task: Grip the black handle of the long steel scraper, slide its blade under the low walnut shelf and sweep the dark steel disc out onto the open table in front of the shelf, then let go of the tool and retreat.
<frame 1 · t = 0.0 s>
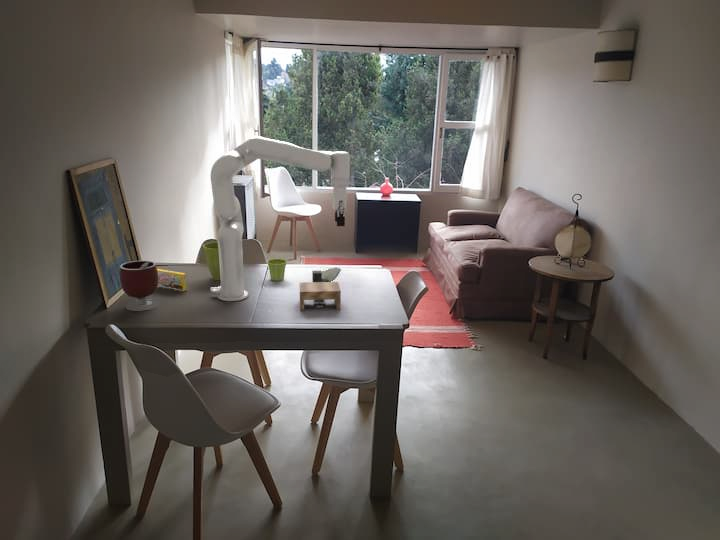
hand: (339, 223, 225), 31 cm above the table, tool pointing down, fingers open, 9 cm apart
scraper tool: (317, 286, 244), on the table
mate gourd: (143, 307, 215), on the table
stone slab: (327, 276, 262), on the table
flower pot: (221, 278, 253), on the table
candy box: (170, 289, 236), on the table
plant pot: (277, 279, 253), on the table
walnut shelf: (319, 305, 220), on the table
steel disc: (319, 306, 219), on the table
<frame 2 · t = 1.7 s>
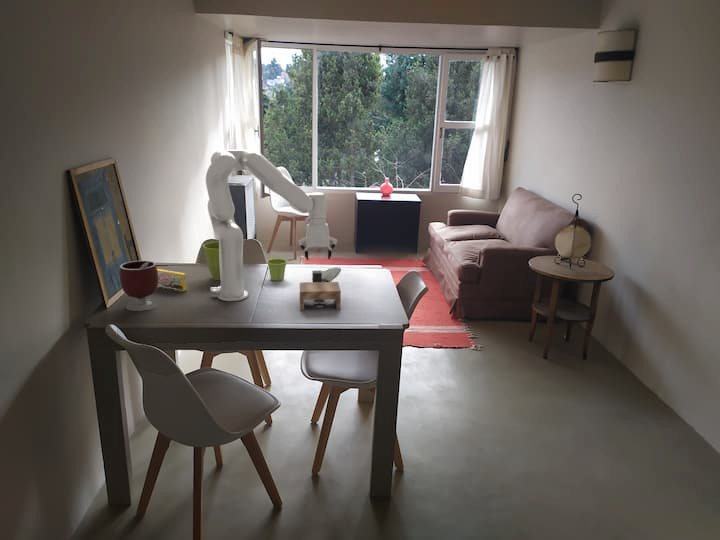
hand: (318, 258, 240), 13 cm above the table, tool pointing down, fingers open, 9 cm apart
nothing on the table moved.
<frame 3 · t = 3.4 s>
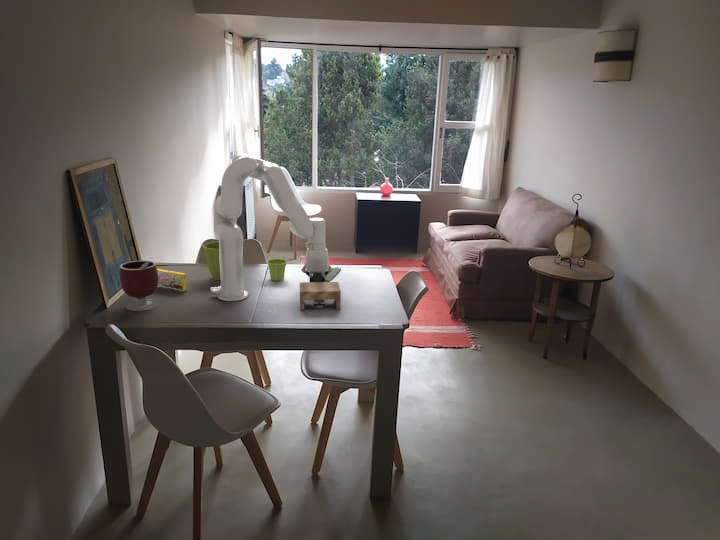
hand: (317, 284, 243), 1 cm above the table, tool pointing down, fingers closed on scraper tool, 4 cm apart
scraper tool: (317, 286, 244), on the table, touching gripper
everything else where it was.
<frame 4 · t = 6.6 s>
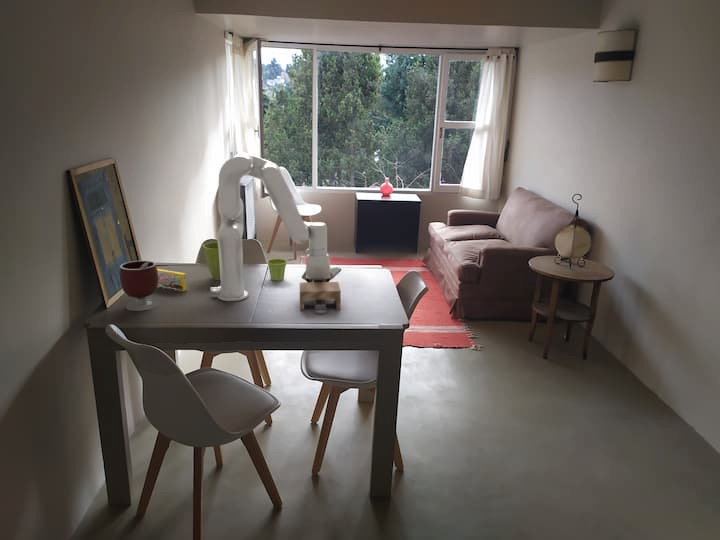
hand: (317, 292, 233), 1 cm above the table, tool pointing down, fingers closed on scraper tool, 4 cm apart
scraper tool: (317, 294, 233), on the table, touching gripper, steel disc
steel disc: (320, 312, 213), on the table, touching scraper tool
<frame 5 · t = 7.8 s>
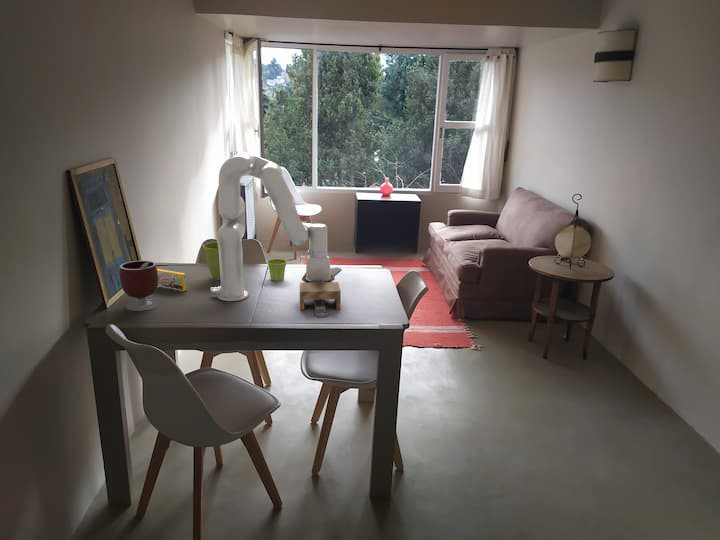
hand: (318, 294, 230), 1 cm above the table, tool pointing down, fingers closed on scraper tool, 4 cm apart
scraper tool: (318, 296, 230), on the table, touching gripper
steel disc: (321, 315, 210), on the table
when the fingers open (1 cm above the table, at t = 9.3 s): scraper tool stays where it is, on the table.
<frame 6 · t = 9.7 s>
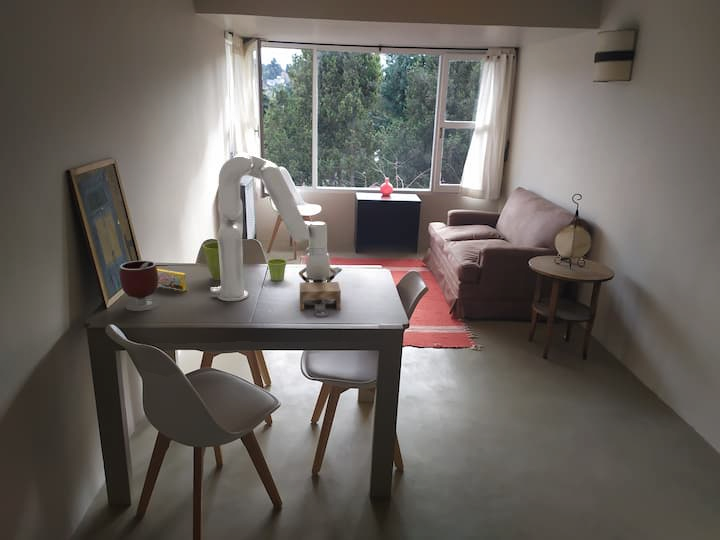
hand: (318, 290, 234), 2 cm above the table, tool pointing down, fingers open, 7 cm apart
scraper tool: (317, 293, 234), on the table
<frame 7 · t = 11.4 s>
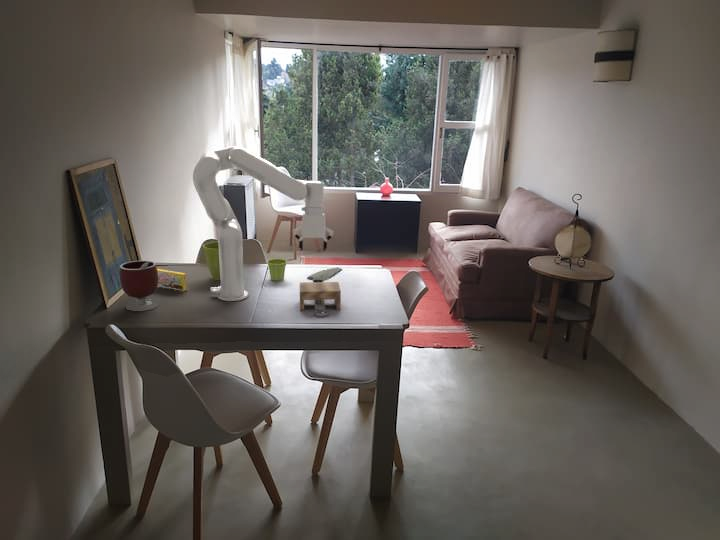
hand: (312, 250, 232), 19 cm above the table, tool pointing down, fingers open, 9 cm apart
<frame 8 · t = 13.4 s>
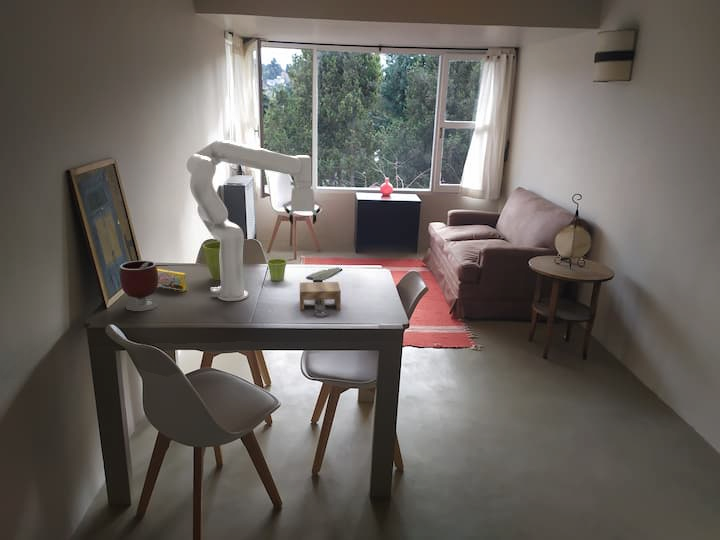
hand: (302, 223, 238), 28 cm above the table, tool pointing down, fingers open, 9 cm apart
at the end: steel disc inside the target area (8.8 cm from its centre), on the table; steel disc moved 10.0 cm from its start; the gripper is holding nothing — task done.
